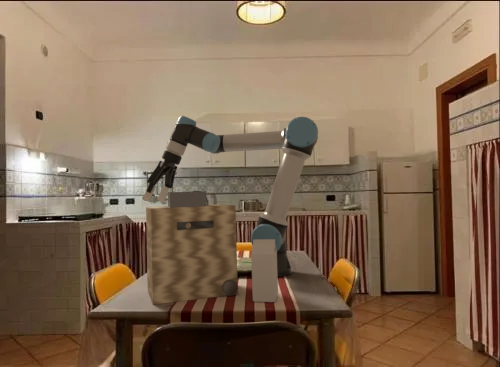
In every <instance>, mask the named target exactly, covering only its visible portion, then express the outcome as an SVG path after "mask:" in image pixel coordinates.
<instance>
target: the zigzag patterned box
mask: <svg viewBox="0 0 500 367" xmlns="http://www.w3.org/2000/svg"><path fill="white" fill-rule="evenodd" d="M206 205H207V206H202V207H176V208H169V207H168V206H148V207H147V206H146V207H145V213H146V214H145V215H146V216H145V217H146V219H145V223H146V224H145V225H146V273H147V274H146V276H147V278H146V279H147V280H146V281H147V293H148V295H149V298H150V301H151V303H152V305H159V304H160V305H162V304H168V303H177V302H182V301H183V302H185V301H192V300H199V299H200V300H201V299H207V298H208V299H209V298H216V297H222V296H228V297H233V296H235V295H238V294H239V285H238V284H239V283H238V282H239V281H238V254H237V253H238V250H237V244H238V243H237V215H236V205H234V204H206Z"/></svg>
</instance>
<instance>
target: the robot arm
mask: <svg viewBox="0 0 500 367" xmlns="http://www.w3.org/2000/svg"><path fill="white" fill-rule="evenodd" d="M318 135H319V130H318V126H317V124H316V123H315V121H314V120H312V119H311V118H310V117H307V116H297V117H294V118H292V119H291V120H290V121H289V122H288V124H287V125H286V127H284V128H283V129H282V130H275V131H261V132H246V133H233V134H216V133H214V132H210V131H208V130H206V129H203V128H201V127H198V126H197V121H195V120H194V119H192V118H190V117H188V116H185V115H180V116H179V117H178V119H177V121H176V123H175V125H174V128H173V130H172V132H171V134H170V138H169V140H168V141H167V142H166V144H167V145H166V147H165V149H166V150H164V151H163V154H162V156H161V158H162V160H164V161H162V160H159V162H158V164H157V166H156V167H155V168H154V170H153V171H152V172H151V174H150V176H149V177H148V178H147V180H146V182H147V184H148V186H147V188H146V191H145V194H144V195H143V197H142V199H143V201H144V200H145V201H147V202H149V203H150V202H151V198H152V196H153V194H154V192H155V189H156V187H157V186H156V185H157V184H158V183H159V182H160V181H161V179H162V178H163V177H164V185H162V188H161V190H160V191H159V192H160V193H159V194H158V196H157V199H156V200H157V201H159V202H161V203H164V202H165V200H166V197H167V196H168V192H169V189H173V186H174V183H175V177H176V172H177V170H178V165H180V164H181V160H182V158H183V157H182V156H184V154H185V151H186V149H187V147H188V144H189V145H192V146H194V147H197V148H199V149H201V150H204V151H205V152H207V153H211V154H213V155H214V154H216V155H217V154H221V153H232V152H247V151H248V152H249V151H267V150H282V152H283V155H282V157H281V158H282V159H281V161H280V165H279V167H278V169H277V174H276V177H275V179H274V183H273V185H272V189H271V192H270V195H269V198H268V201H267V204H266V208H265V210H264V212H263V213H261V214H259V217H258V219H257V221H256V225H255V228H254V229H253V230H252V232H251V234H250V235H251V236H250V243H251V247H253V239H275V245H276V249H277V277H279V278H281V277H285V276H289V275H291V274H292V265H291V263H290V261H289V257H288V255H287V254H288V251H287V230H288V226H289V223H288V221H287V217H288V213H289V210H290V207H291V205H292V202H293V198H294V195H295V194H296V193H295V192H296V189H297V186H298V183H299V181H300V180H299V179H300V177H301V174H302V171H303V168H304V166H305V162H306V160H308V159H310V158H311V157H312V153H313V150H314V147H315V146H316V144H317V142H318V138H319V136H318Z"/></svg>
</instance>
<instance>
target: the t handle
mask: <svg viewBox="0 0 500 367" xmlns="http://www.w3.org/2000/svg"><path fill="white" fill-rule="evenodd" d="M207 205H208V204H207V191H204V190H203V191H168V193H167V207H169V208H176V207H202V206H207Z"/></svg>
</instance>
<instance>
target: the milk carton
mask: <svg viewBox="0 0 500 367" xmlns="http://www.w3.org/2000/svg"><path fill="white" fill-rule="evenodd" d="M250 254H251V258H250V259H251V283H252V285H251V287H252V290H251V291H252V292H251V293H252V302H253V303H254V302H259V303H260V302H263V303H275V302H276V301H277V299H278V297H279V284H278V282H279V280H278V277H277V249H276V245H275V239H253V246H251V253H250Z"/></svg>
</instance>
